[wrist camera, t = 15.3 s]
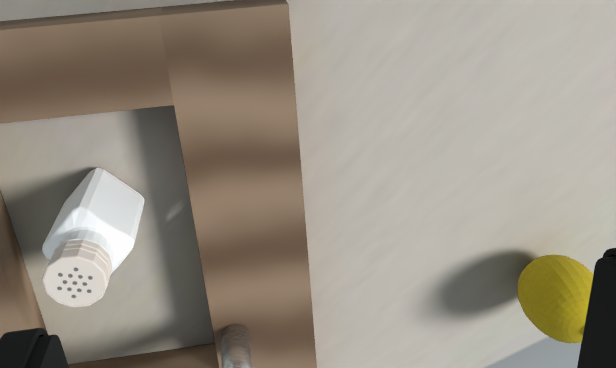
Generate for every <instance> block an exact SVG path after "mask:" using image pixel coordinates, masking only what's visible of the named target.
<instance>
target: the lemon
mask: <svg viewBox="0 0 616 368" xmlns="http://www.w3.org/2000/svg"><path fill="white" fill-rule="evenodd" d="M593 275H594V274H593V273H592V272H591V271H589V270H588V269H587V268H586V267H585V266H584V265H583V264H581V263H580V262H578V261H576V260H574V259H571V258H569V257H566V256H561V255H546V256H542V257H539V258H537V259H535V260H533V261H532V262H530V263H529V264H528V265H527V266H526V267H525V268H524V270H523V271H522V273H521V275H520V277H519V281H518V285H517V291H518V299H519V302H520V304H521V306H522V309H523V311H524V313H525V314H526V316H527V317H528V318H529V320H530V321H531V322H532V323H533V324H534V325H535V326H536V327H537V328H538V329H539V330H540V331H542V332H543V333H544V334H546V335H548V336H549V337H551V338H553V339H555V340H557V341H561V342H565V343H580V342H582V338H583V332H584V326H585V321H586V315H587V309H588V303H589V298H590V292H591V286H592V280H593Z"/></svg>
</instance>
